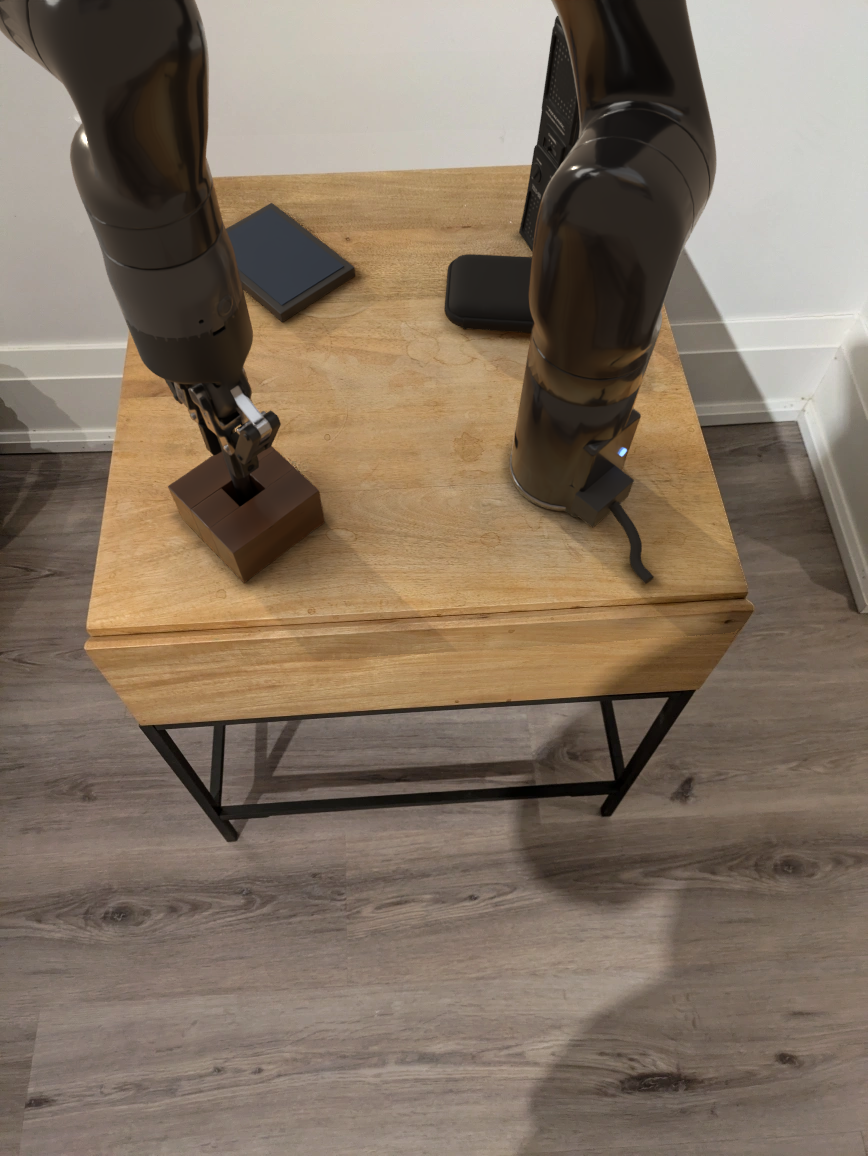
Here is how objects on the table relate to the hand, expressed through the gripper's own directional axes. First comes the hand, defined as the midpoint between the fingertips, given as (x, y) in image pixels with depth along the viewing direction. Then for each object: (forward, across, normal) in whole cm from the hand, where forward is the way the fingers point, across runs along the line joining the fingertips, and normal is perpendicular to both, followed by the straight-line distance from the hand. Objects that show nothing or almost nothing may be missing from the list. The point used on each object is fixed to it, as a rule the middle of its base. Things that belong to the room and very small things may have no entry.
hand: (233, 458), depth 67 cm
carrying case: (+9, -2, +36) cm, 37 cm away
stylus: (+9, 0, 0) cm, 9 cm away
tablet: (+9, -24, +22) cm, 34 cm away
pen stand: (+9, 0, 0) cm, 9 cm away
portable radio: (+9, -6, +46) cm, 47 cm away
